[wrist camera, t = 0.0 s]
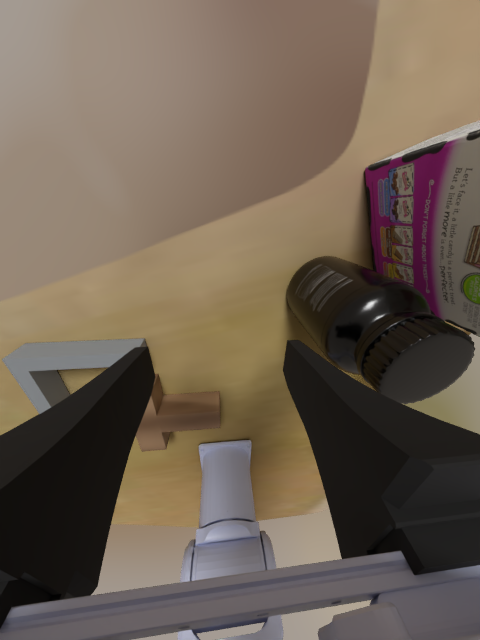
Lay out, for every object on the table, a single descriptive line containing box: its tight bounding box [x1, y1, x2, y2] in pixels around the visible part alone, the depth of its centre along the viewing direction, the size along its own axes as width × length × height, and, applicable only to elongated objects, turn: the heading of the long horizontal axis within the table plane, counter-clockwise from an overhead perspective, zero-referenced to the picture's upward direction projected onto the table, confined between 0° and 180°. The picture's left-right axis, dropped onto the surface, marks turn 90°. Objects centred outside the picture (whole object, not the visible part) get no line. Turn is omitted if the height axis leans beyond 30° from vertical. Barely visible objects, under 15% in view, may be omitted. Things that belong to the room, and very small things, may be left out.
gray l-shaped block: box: [2, 339, 147, 414], centre depth 23 cm, size 16×12×2 cm
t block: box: [136, 374, 220, 451], centre depth 25 cm, size 10×10×3 cm
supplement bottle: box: [287, 256, 475, 404], centre depth 15 cm, size 7×7×12 cm
